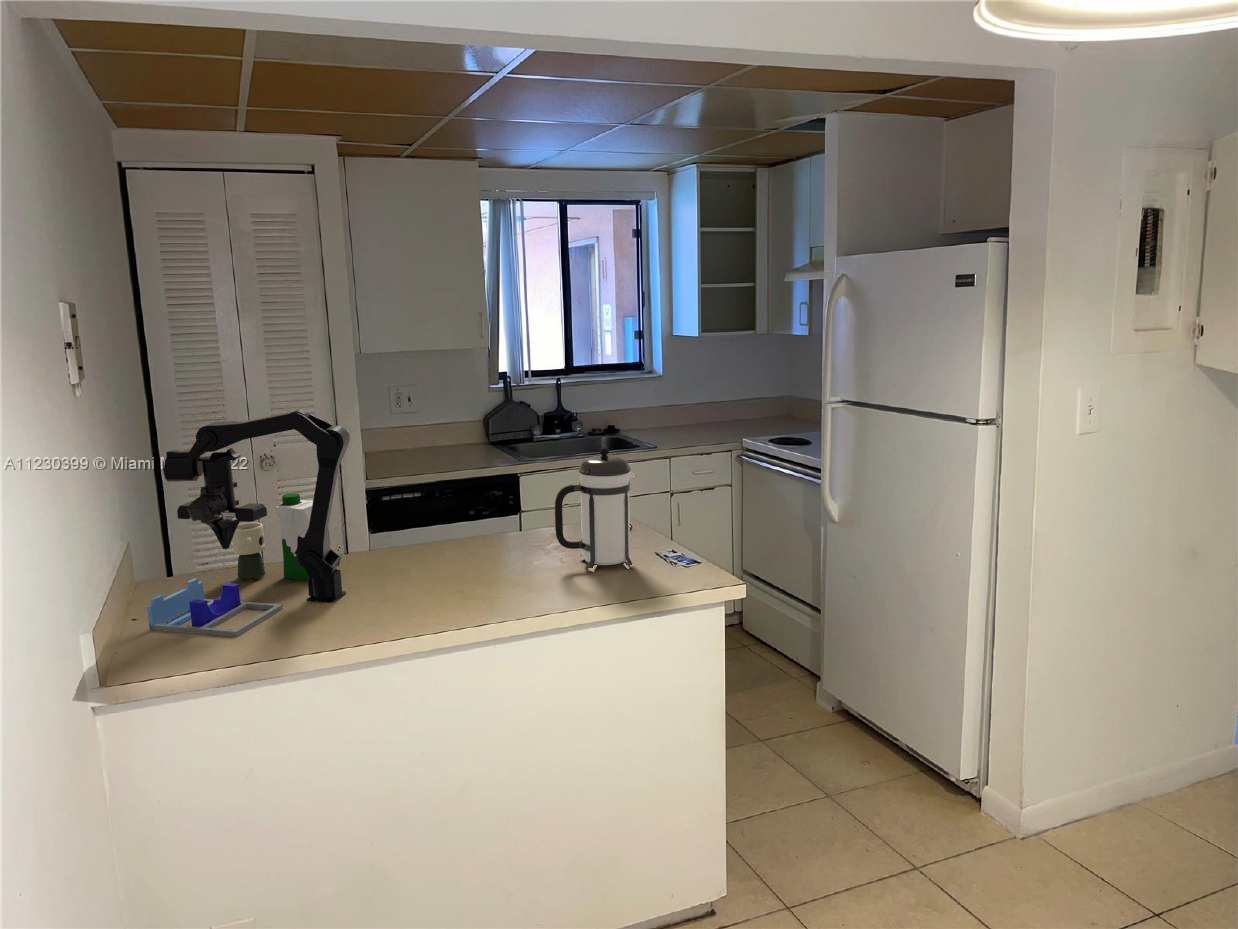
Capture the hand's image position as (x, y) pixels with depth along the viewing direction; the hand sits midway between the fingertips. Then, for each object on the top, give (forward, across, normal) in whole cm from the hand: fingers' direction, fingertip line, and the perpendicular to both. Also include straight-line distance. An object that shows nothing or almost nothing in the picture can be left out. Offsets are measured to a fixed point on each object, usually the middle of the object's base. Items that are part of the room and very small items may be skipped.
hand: (225, 548), depth 197 cm
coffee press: (+13, +76, +40) cm, 87 cm away
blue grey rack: (+13, +4, -10) cm, 16 cm away
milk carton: (+13, +6, +20) cm, 25 cm away
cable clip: (+13, +3, -10) cm, 16 cm away
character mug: (+13, -6, +16) cm, 21 cm away
